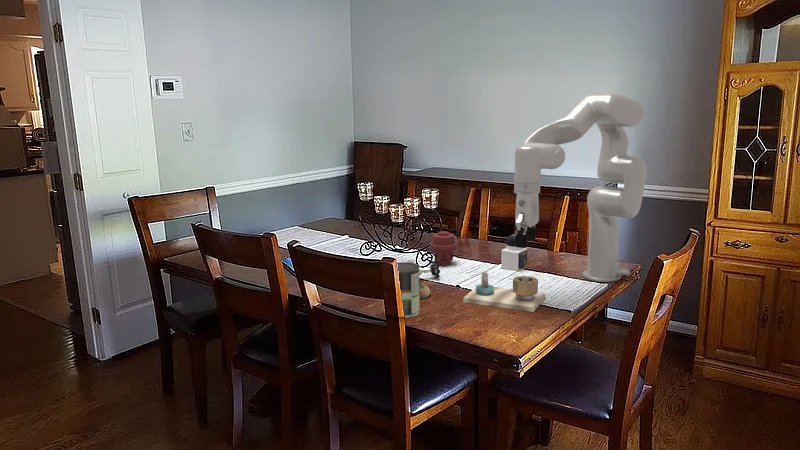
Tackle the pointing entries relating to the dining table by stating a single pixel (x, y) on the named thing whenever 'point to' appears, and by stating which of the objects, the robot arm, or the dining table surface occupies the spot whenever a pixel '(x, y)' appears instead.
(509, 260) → the medicine bottle
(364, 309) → the dining table surface
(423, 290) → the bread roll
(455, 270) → the dining table surface
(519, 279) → the ring
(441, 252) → the mechanical component
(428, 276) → the dining table surface
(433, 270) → the valve
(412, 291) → the coffee can
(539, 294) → the hub board
